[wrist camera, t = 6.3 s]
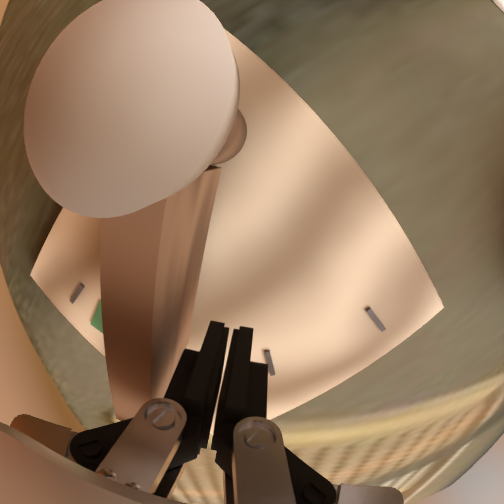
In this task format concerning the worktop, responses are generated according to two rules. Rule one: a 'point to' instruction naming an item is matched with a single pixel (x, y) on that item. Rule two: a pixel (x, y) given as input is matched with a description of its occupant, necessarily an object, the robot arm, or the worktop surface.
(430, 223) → the worktop surface
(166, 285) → the peg
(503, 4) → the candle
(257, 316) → the tuner plate
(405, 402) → the worktop surface
